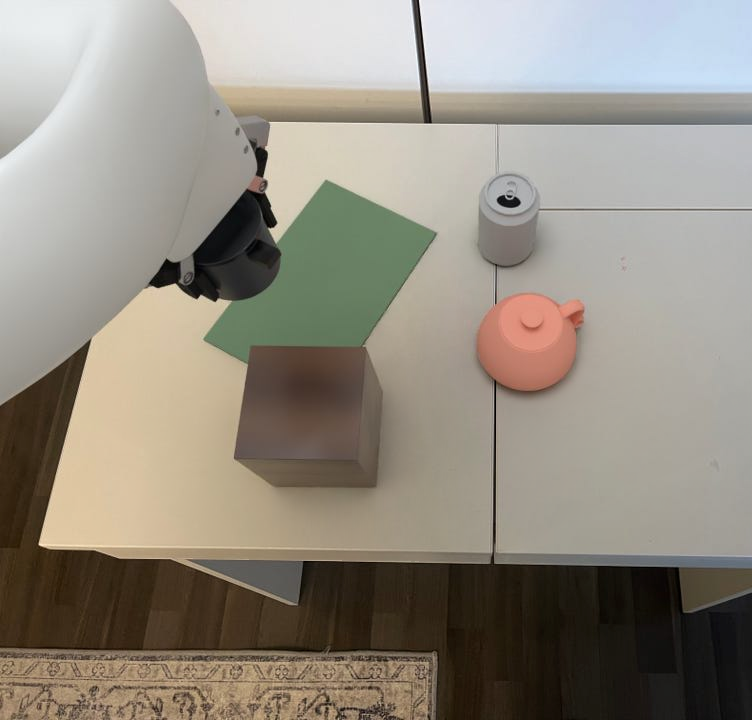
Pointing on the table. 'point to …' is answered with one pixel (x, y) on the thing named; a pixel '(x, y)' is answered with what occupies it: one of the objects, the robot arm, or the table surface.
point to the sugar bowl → (529, 340)
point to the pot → (239, 252)
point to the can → (507, 218)
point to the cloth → (327, 277)
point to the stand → (310, 417)
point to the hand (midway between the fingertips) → (232, 254)
